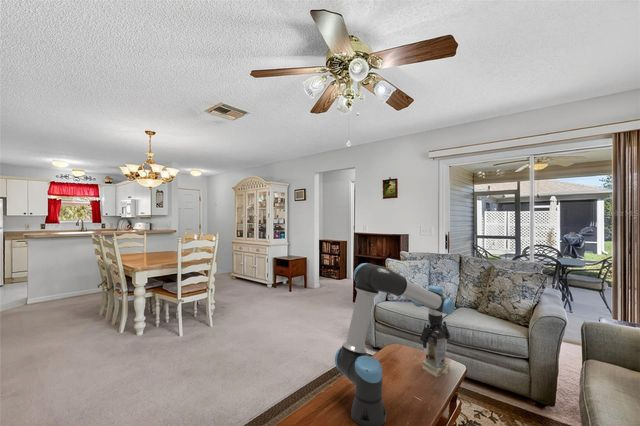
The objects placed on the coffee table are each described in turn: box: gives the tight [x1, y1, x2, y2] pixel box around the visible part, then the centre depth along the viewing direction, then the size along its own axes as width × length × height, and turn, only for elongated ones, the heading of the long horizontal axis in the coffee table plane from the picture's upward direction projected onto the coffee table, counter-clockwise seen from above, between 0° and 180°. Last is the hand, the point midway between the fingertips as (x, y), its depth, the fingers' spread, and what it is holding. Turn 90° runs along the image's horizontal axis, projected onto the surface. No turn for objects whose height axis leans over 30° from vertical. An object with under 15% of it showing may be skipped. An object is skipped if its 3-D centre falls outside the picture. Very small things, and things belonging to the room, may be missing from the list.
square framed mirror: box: [422, 359, 450, 378], centre depth 165 cm, size 10×10×4 cm
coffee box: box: [425, 331, 446, 367], centre depth 165 cm, size 9×6×16 cm
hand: (435, 351), depth 165 cm, fingers open, 13 cm apart
